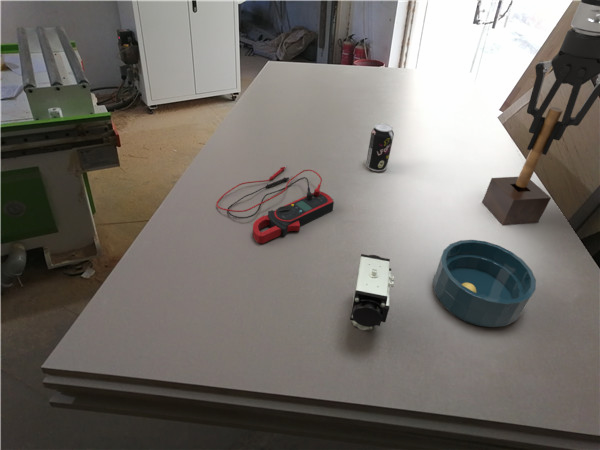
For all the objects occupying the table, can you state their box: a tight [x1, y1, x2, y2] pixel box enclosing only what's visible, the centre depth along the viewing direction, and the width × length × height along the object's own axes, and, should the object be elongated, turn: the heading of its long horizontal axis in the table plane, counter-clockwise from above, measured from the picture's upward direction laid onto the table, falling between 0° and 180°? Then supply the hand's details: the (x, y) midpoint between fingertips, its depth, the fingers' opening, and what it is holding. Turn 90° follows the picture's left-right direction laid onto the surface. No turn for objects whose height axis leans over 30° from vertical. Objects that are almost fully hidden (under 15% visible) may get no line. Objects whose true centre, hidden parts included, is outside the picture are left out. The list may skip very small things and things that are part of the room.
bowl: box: [432, 239, 537, 328], centre depth 73 cm, size 16×16×7 cm
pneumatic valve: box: [349, 253, 395, 331], centre depth 65 cm, size 6×12×12 cm, turn 168°
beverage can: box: [365, 122, 395, 172], centre depth 107 cm, size 6×6×12 cm
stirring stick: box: [516, 106, 564, 188], centre depth 86 cm, size 2×2×18 cm
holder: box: [481, 176, 552, 226], centre depth 95 cm, size 9×9×7 cm
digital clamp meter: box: [215, 164, 334, 244], centre depth 94 cm, size 23×4×25 cm
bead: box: [462, 283, 476, 293], centre depth 72 cm, size 3×3×3 cm
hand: (537, 149), depth 86 cm, fingers closed on stirring stick, 2 cm apart
